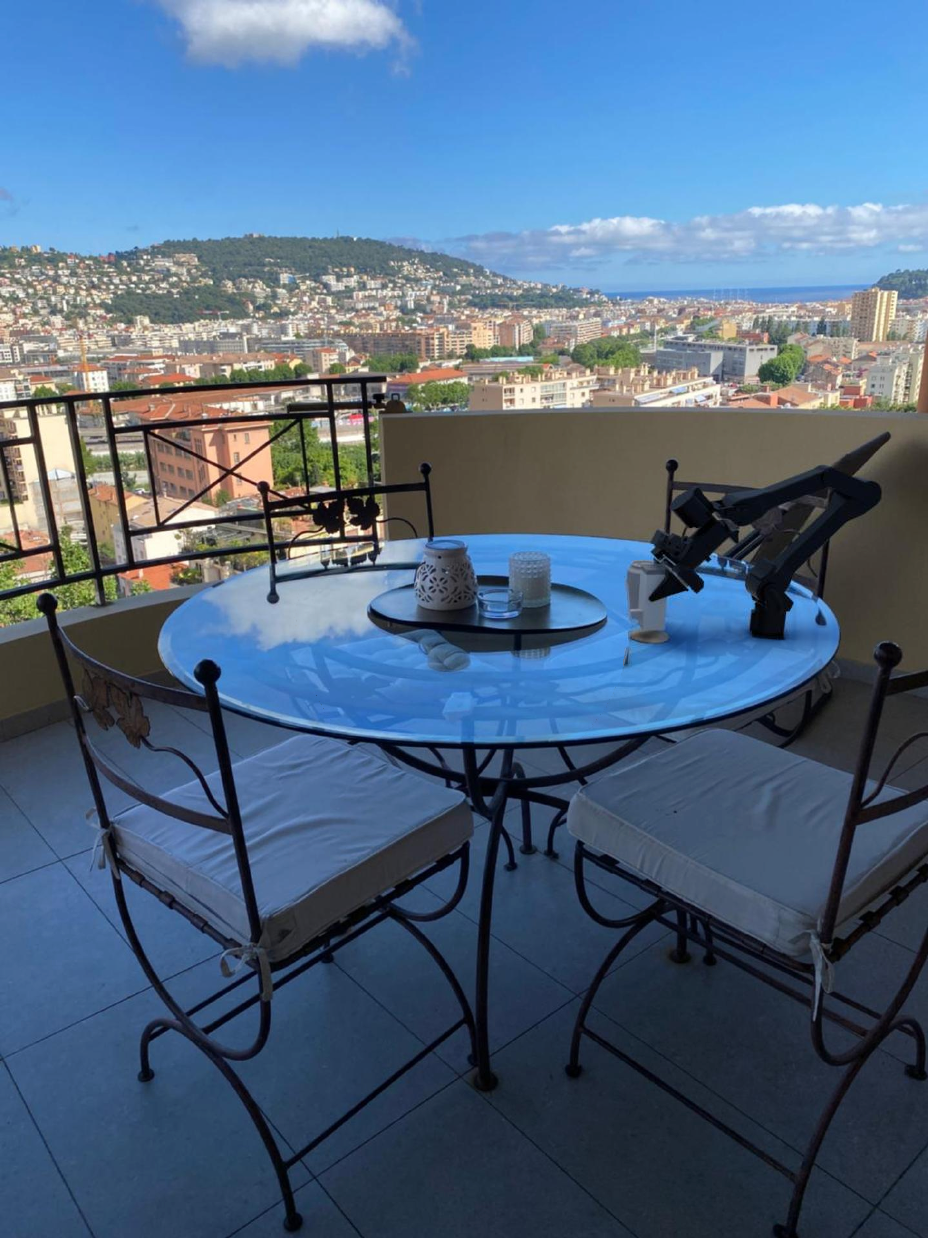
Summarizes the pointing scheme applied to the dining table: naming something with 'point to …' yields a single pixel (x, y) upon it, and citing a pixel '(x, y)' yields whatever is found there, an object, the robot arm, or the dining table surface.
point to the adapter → (649, 612)
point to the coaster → (649, 636)
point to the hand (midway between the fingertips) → (646, 597)
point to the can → (635, 581)
